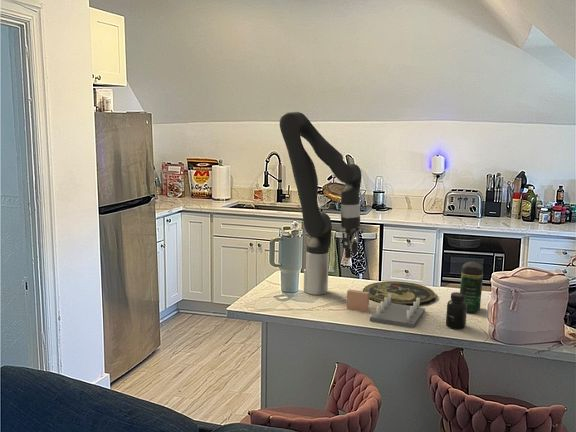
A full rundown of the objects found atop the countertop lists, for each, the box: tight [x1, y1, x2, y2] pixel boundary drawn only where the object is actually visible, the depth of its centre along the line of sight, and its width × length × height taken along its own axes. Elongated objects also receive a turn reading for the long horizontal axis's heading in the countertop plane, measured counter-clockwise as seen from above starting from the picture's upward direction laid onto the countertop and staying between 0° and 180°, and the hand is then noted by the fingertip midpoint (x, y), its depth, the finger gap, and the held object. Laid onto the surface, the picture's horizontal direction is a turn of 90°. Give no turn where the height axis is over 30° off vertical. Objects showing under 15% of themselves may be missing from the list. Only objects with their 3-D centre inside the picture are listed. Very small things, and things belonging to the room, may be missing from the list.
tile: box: [346, 289, 370, 312], centre depth 229 cm, size 8×2×7 cm, turn 66°
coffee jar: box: [459, 261, 484, 314], centre depth 229 cm, size 10×8×19 cm
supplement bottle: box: [445, 291, 467, 330], centre depth 212 cm, size 7×7×12 cm
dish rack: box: [369, 294, 426, 329], centre depth 222 cm, size 16×19×6 cm
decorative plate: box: [362, 280, 437, 307], centre depth 248 cm, size 30×2×30 cm
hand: (351, 255), depth 238 cm, fingers open, 8 cm apart
